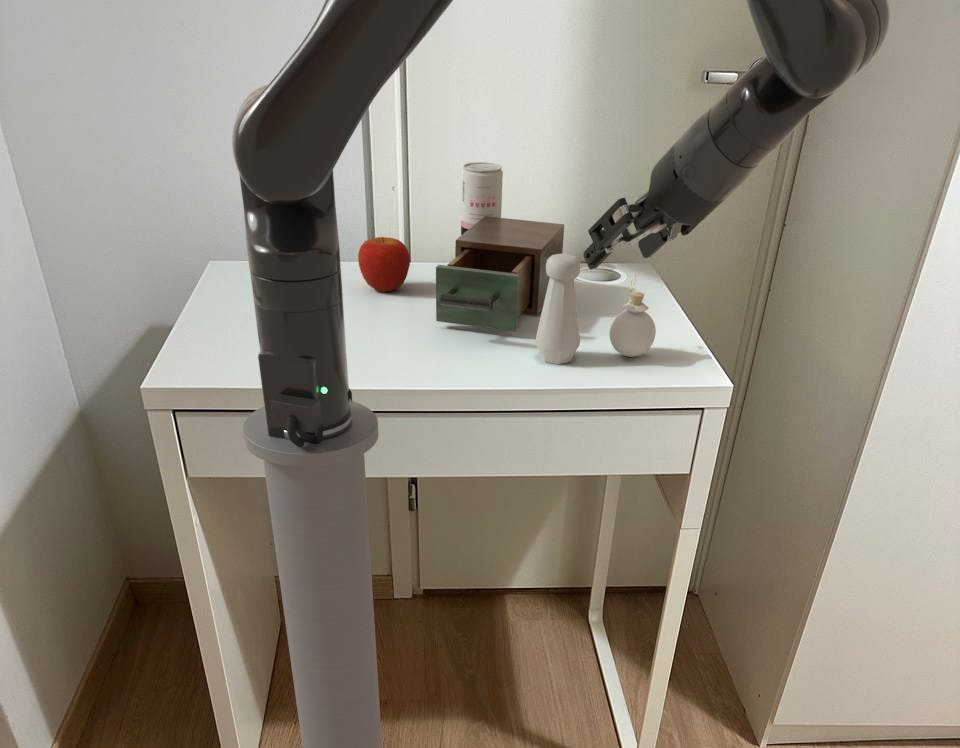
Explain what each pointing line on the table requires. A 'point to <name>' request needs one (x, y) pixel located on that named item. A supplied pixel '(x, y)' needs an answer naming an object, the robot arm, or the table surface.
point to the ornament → (633, 327)
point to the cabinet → (518, 246)
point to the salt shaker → (559, 311)
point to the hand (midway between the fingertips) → (616, 256)
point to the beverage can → (480, 193)
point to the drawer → (484, 288)
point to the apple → (384, 263)
